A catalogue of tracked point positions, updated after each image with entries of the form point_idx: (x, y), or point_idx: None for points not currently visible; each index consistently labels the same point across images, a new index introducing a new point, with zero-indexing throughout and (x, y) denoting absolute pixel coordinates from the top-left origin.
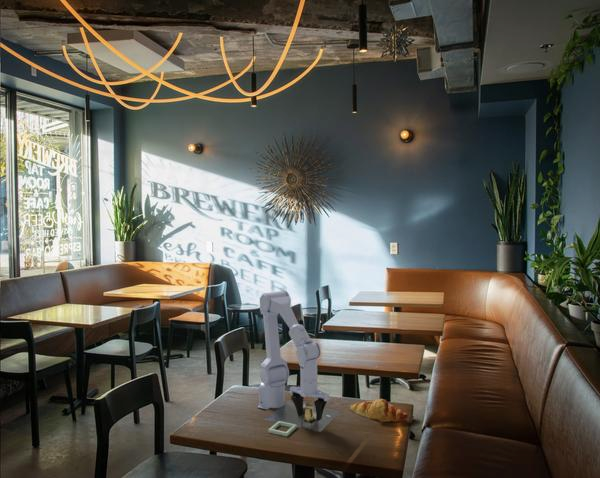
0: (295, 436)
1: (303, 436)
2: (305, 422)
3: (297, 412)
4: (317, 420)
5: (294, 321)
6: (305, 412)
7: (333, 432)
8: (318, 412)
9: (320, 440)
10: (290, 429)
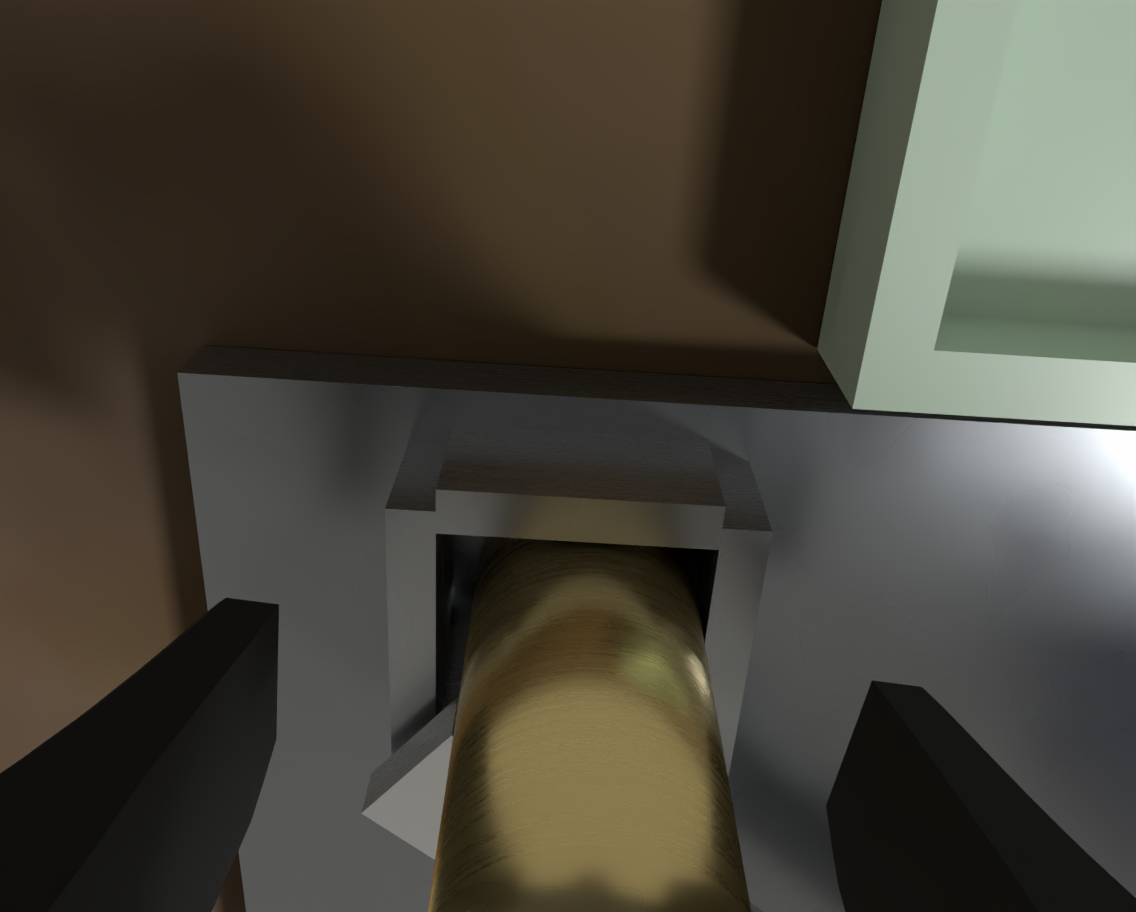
0: (750, 31)
1: (547, 114)
2: (624, 511)
3: (972, 745)
4: (249, 601)
5: None
6: (667, 755)
7: (20, 536)
8: (33, 763)
9: (44, 69)
10: (955, 47)
